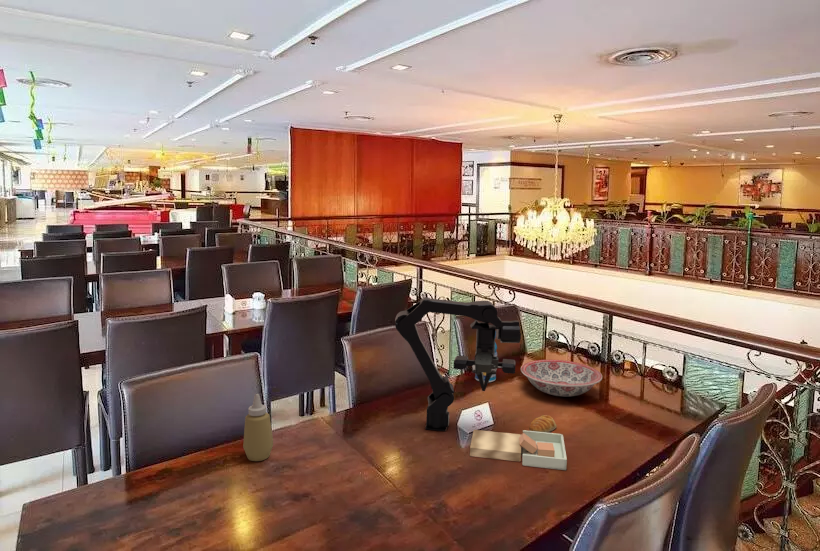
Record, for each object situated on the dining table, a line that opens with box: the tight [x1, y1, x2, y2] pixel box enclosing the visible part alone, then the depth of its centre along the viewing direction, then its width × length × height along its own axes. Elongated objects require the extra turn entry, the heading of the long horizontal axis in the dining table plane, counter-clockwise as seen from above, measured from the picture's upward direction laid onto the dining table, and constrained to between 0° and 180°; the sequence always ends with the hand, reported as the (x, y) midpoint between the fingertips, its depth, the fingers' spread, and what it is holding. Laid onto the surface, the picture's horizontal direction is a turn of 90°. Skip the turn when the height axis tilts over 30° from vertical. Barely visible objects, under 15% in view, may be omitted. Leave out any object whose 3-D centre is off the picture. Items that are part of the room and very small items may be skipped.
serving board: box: [469, 429, 522, 463], centre depth 158 cm, size 14×12×2 cm
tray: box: [521, 429, 568, 471], centre depth 156 cm, size 12×16×3 cm
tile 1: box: [519, 432, 537, 454], centre depth 157 cm, size 4×4×2 cm
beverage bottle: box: [474, 330, 498, 383], centre depth 216 cm, size 8×8×20 cm
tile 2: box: [537, 442, 555, 457], centre depth 156 cm, size 4×4×2 cm
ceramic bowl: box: [520, 359, 603, 397], centre depth 204 cm, size 29×29×8 cm
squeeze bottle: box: [242, 393, 274, 462], centre depth 150 cm, size 8×8×18 cm
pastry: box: [528, 414, 557, 433], centre depth 172 cm, size 9×7×4 cm
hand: (483, 390), depth 171 cm, fingers closed
